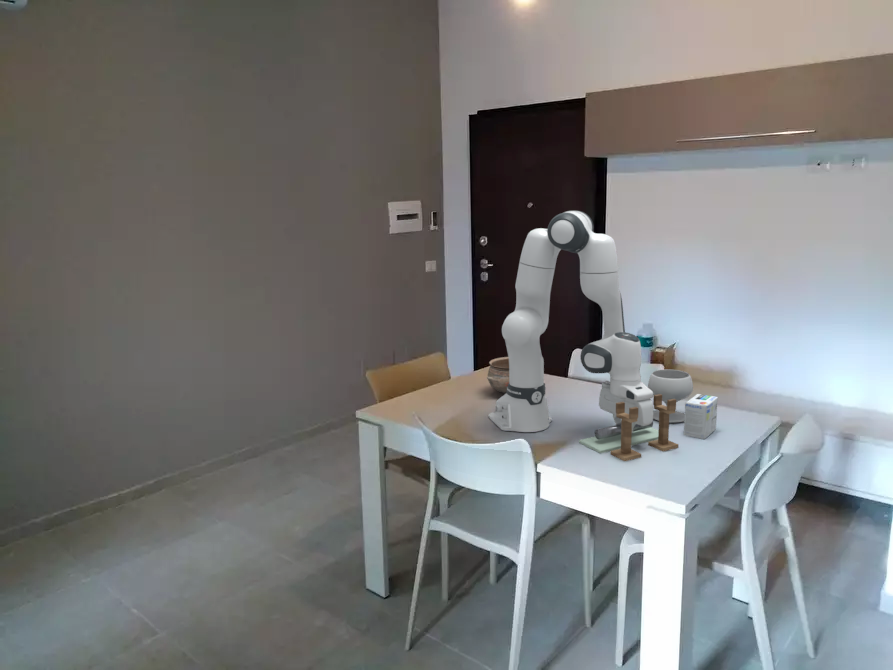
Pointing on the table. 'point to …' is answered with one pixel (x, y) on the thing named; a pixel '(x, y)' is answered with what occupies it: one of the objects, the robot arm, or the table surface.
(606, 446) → the mat
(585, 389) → the table surface
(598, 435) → the rail
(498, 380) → the cooking pot
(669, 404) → the hook stands
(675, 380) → the chalice
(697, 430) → the light bulb box
